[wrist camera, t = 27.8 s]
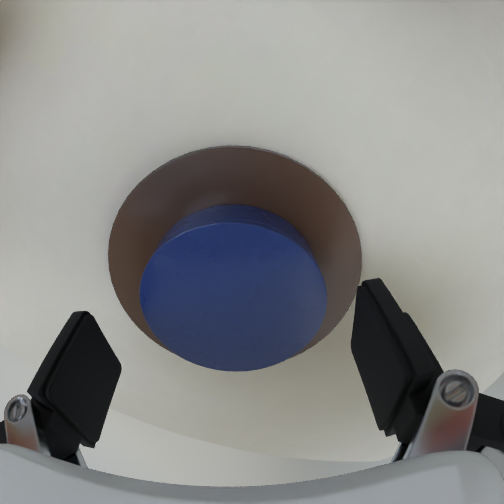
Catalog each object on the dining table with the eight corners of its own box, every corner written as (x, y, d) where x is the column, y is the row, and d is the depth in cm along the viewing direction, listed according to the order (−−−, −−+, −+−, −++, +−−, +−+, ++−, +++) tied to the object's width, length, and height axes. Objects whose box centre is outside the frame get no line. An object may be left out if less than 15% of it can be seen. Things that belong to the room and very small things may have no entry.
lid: (315, 191, 10) (328, 207, 8) (319, 333, 13) (327, 360, 12) (131, 220, 10) (112, 240, 9) (178, 348, 14) (172, 375, 12)
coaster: (221, 383, 16) (221, 391, 15) (73, 256, 12) (67, 262, 11) (391, 290, 13) (396, 297, 12) (257, 85, 9) (258, 84, 8)
